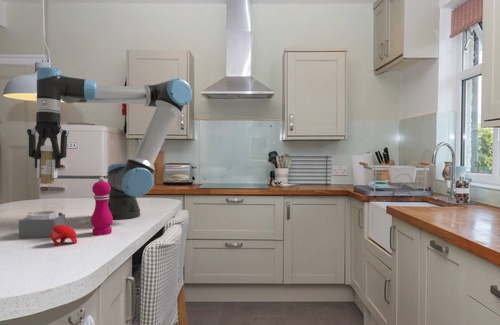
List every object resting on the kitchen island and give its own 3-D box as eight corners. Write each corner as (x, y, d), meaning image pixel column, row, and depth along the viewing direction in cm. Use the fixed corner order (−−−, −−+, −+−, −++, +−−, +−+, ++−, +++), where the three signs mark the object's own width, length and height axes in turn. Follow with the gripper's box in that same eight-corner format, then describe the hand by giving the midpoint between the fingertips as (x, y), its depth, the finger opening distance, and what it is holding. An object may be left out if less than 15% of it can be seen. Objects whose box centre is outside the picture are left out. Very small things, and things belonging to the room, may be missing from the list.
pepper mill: (117, 231, 129) (116, 176, 128) (103, 236, 122) (102, 177, 122) (101, 230, 131) (100, 175, 131) (86, 234, 125) (85, 177, 124)
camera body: (65, 230, 131) (65, 209, 131) (54, 237, 121) (53, 214, 121) (33, 231, 130) (32, 210, 129) (19, 238, 120) (18, 215, 119)
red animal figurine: (44, 237, 108) (61, 226, 108) (49, 226, 114) (65, 216, 114) (62, 254, 112) (79, 244, 112) (66, 243, 117) (82, 234, 117)
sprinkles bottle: (38, 183, 128) (38, 145, 127) (52, 182, 131) (52, 146, 131) (42, 184, 125) (43, 145, 124) (56, 183, 128) (57, 146, 128)
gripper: (16, 109, 123) (15, 177, 123) (69, 111, 125) (68, 178, 125) (28, 112, 130) (27, 176, 131) (78, 114, 132) (76, 177, 132)
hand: (47, 177), depth 128 cm, fingers closed on sprinkles bottle, 4 cm apart
